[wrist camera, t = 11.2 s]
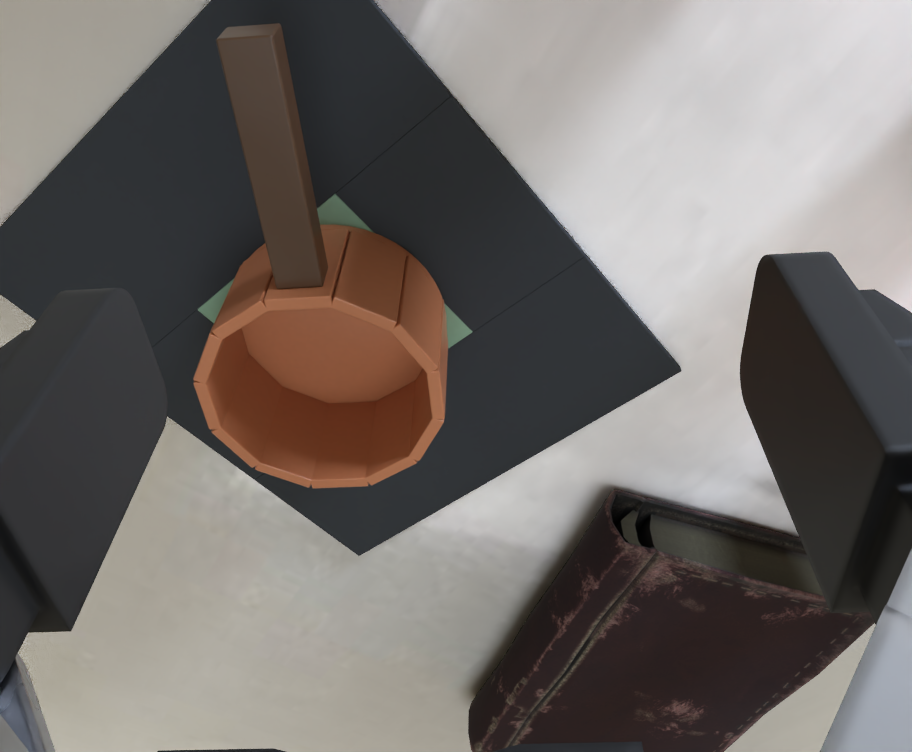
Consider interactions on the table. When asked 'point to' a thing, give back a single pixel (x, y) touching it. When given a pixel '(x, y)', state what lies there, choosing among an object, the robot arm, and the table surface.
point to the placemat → (349, 204)
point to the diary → (663, 636)
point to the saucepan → (316, 313)
